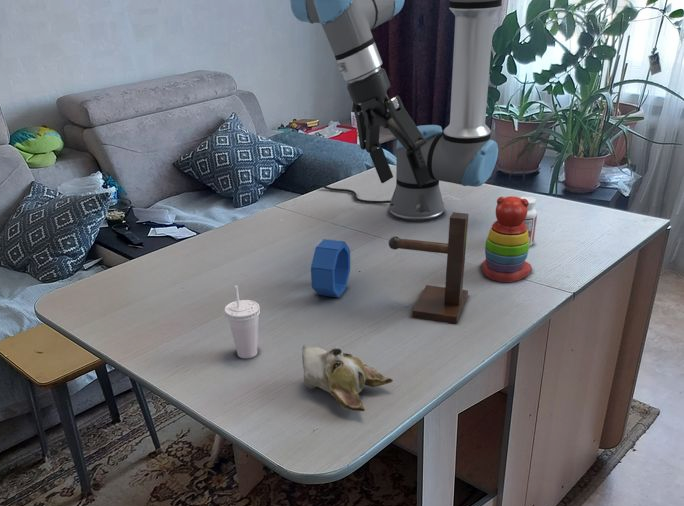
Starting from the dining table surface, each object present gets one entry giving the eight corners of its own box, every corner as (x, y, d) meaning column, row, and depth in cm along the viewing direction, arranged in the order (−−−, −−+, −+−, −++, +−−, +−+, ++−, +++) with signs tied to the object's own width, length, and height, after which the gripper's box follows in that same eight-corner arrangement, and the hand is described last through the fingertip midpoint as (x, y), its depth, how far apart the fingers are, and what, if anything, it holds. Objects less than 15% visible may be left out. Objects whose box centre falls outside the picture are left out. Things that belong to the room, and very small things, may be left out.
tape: (312, 301, 138) (309, 253, 132) (330, 279, 147) (329, 233, 141) (333, 304, 136) (331, 255, 130) (350, 282, 145) (349, 235, 139)
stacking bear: (532, 267, 148) (543, 192, 139) (524, 286, 141) (534, 207, 131) (485, 261, 152) (493, 187, 143) (475, 278, 145) (481, 201, 135)
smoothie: (231, 345, 124) (222, 279, 116) (264, 343, 124) (257, 276, 117) (229, 363, 118) (219, 295, 111) (264, 361, 119) (257, 292, 111)
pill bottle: (518, 236, 164) (523, 193, 158) (538, 242, 160) (544, 199, 154) (502, 242, 161) (507, 199, 155) (522, 249, 157) (528, 205, 151)
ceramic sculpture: (320, 322, 112) (396, 350, 105) (320, 363, 117) (393, 392, 110) (284, 351, 105) (363, 383, 98) (285, 393, 109) (361, 426, 103)
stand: (380, 312, 133) (380, 219, 122) (395, 287, 142) (397, 199, 132) (456, 323, 128) (463, 227, 117) (467, 296, 137) (475, 205, 127)
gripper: (318, 89, 127) (359, 187, 137) (383, 77, 106) (426, 194, 116) (348, 72, 129) (387, 170, 139) (418, 57, 108) (458, 174, 118)
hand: (405, 181), depth 127 cm, fingers open, 13 cm apart
